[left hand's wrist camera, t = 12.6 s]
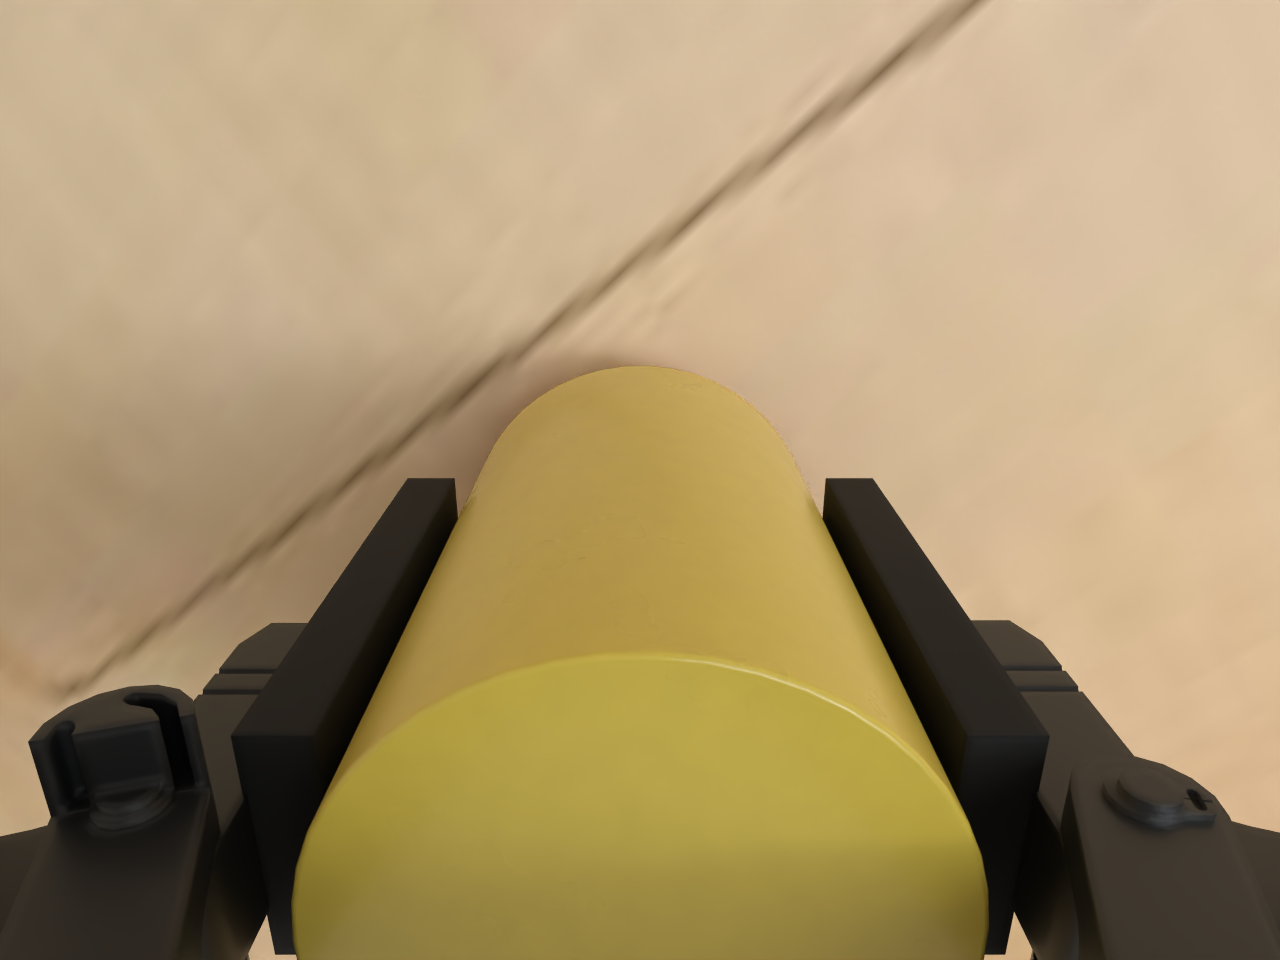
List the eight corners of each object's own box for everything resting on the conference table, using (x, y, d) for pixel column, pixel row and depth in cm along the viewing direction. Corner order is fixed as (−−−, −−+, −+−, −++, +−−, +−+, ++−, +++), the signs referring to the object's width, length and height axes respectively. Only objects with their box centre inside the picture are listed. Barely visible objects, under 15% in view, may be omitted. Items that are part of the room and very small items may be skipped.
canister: (739, 701, 17) (833, 1227, 9) (442, 621, 16) (240, 1107, 8) (856, 423, 15) (1122, 769, 7) (522, 319, 14) (362, 561, 6)
